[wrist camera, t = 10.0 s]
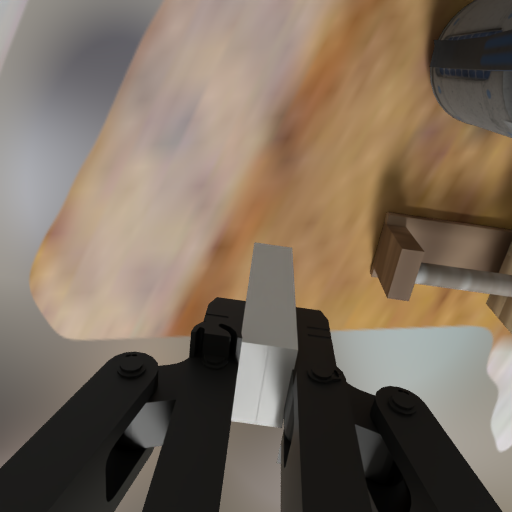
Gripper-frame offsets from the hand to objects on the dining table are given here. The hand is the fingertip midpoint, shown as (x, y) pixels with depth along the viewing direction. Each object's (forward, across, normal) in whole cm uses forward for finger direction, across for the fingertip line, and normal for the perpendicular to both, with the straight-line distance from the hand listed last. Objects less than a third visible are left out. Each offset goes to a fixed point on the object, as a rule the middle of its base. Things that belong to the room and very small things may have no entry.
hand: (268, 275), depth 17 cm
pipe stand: (+26, +23, -8) cm, 36 cm away
